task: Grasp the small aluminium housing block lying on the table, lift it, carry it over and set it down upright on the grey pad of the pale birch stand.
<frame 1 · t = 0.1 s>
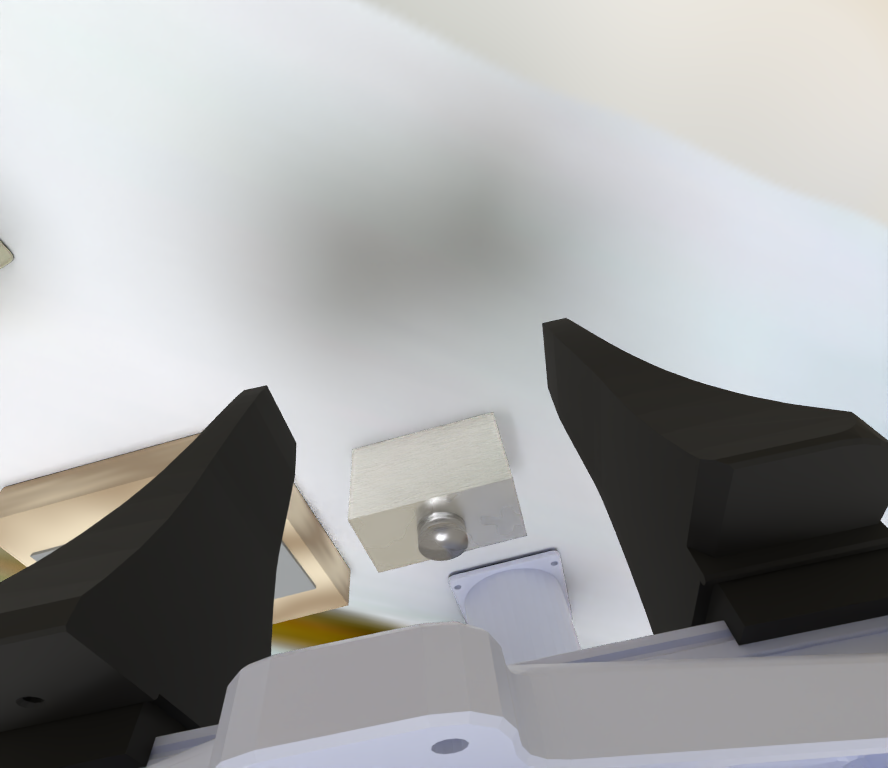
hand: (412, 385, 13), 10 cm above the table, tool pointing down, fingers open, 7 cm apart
stand: (198, 534, 30), on the table
housing: (432, 457, 28), on the table
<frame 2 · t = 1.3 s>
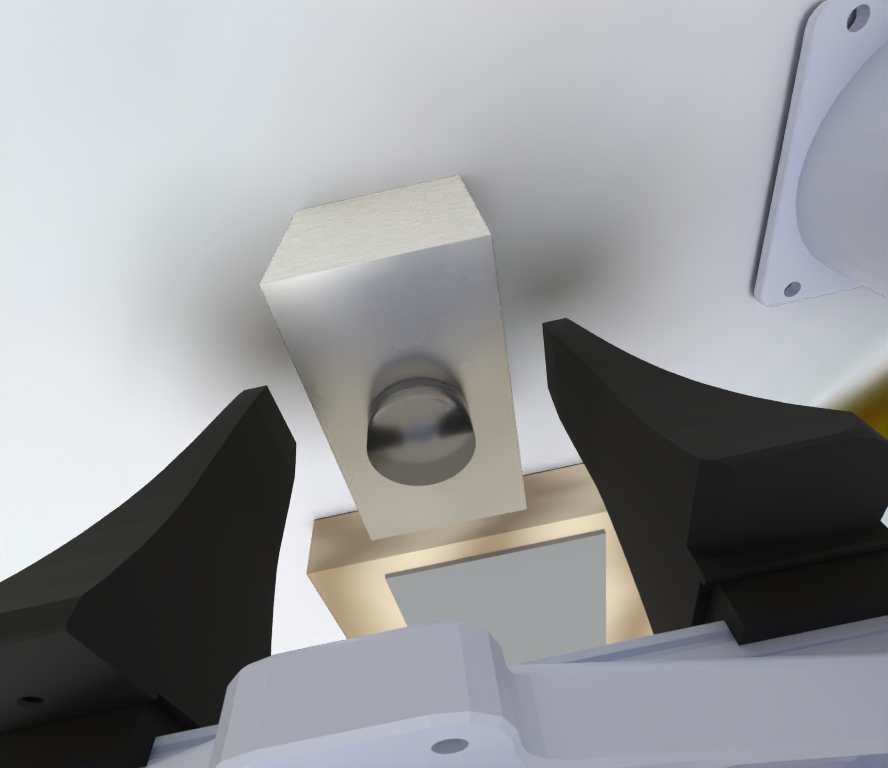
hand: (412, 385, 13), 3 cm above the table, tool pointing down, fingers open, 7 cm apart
stand: (500, 580, 24), on the table
housing: (410, 319, 16), on the table
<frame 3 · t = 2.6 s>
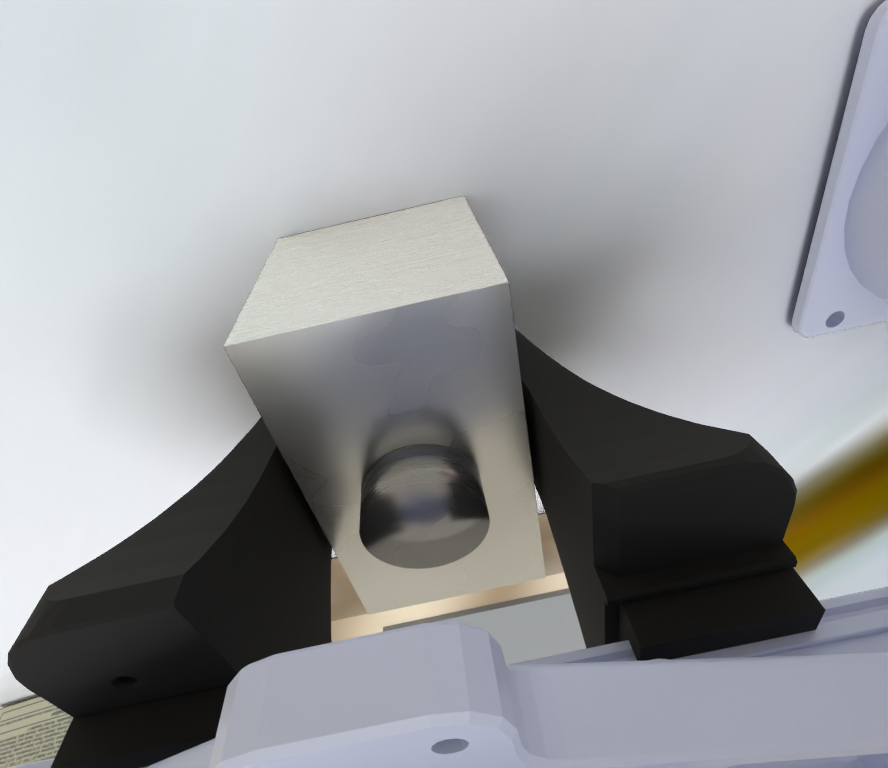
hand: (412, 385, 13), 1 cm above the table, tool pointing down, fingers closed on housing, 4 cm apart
skincare box: (93, 702, 23), on the table
stand: (507, 620, 23), on the table
housing: (409, 356, 14), on the table, touching gripper
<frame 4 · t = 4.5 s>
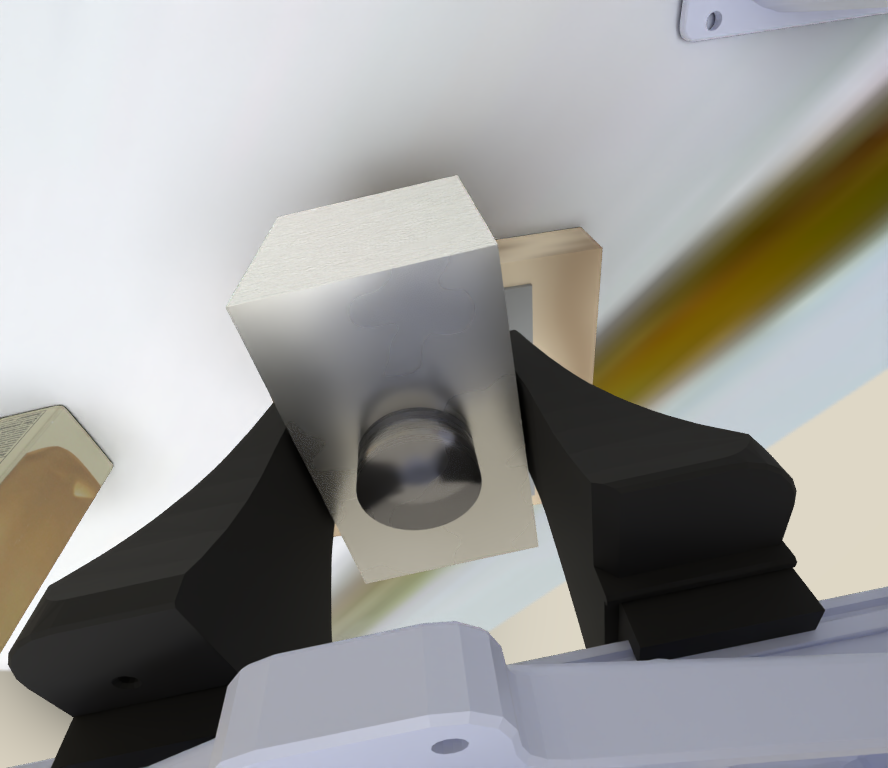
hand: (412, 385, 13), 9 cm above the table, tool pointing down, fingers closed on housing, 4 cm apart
skincare box: (38, 445, 24), on the table
stand: (436, 386, 25), on the table
housing: (405, 335, 14), point 7 cm above the table, touching gripper
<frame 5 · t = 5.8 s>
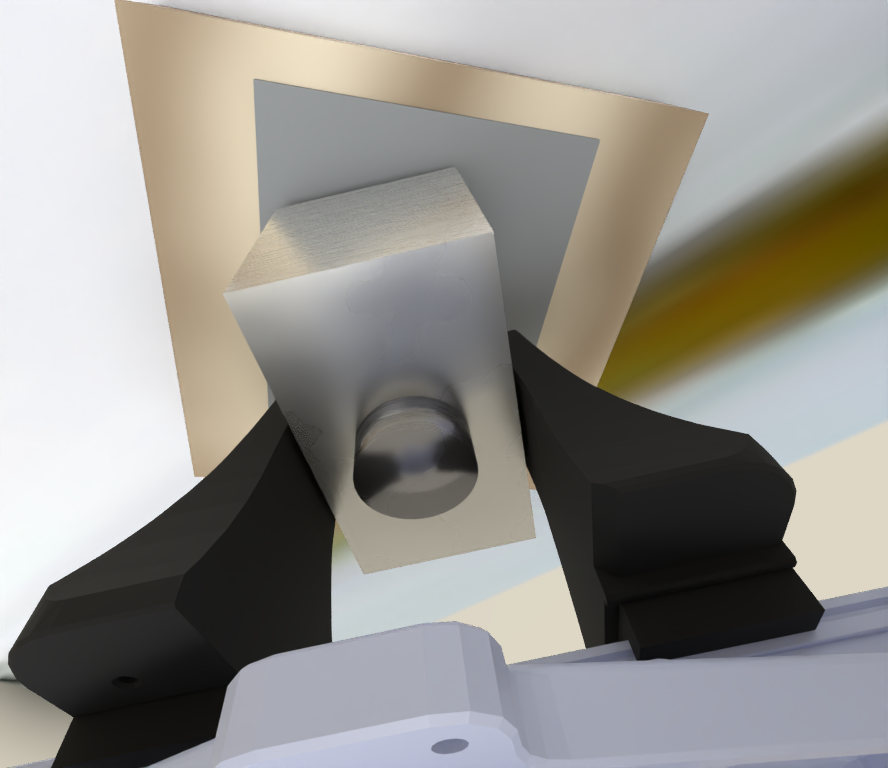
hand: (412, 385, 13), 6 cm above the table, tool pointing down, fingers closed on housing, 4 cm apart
stand: (404, 292, 17), on the table
housing: (404, 328, 14), point 3 cm above the table, touching gripper
when the fingers open (5 cm above the table, at t = 6.7 s): housing stays where it is, resting on stand.
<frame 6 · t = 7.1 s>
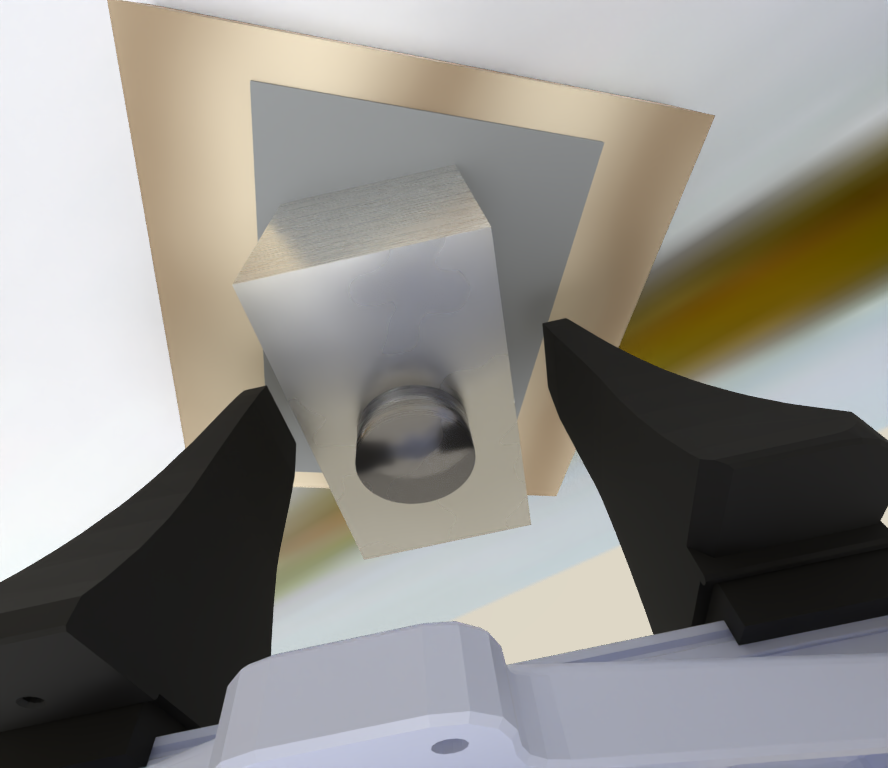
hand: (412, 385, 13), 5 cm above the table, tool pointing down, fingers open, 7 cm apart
stand: (404, 296, 17), on the table
housing: (404, 321, 15), point 3 cm above the table, touching stand
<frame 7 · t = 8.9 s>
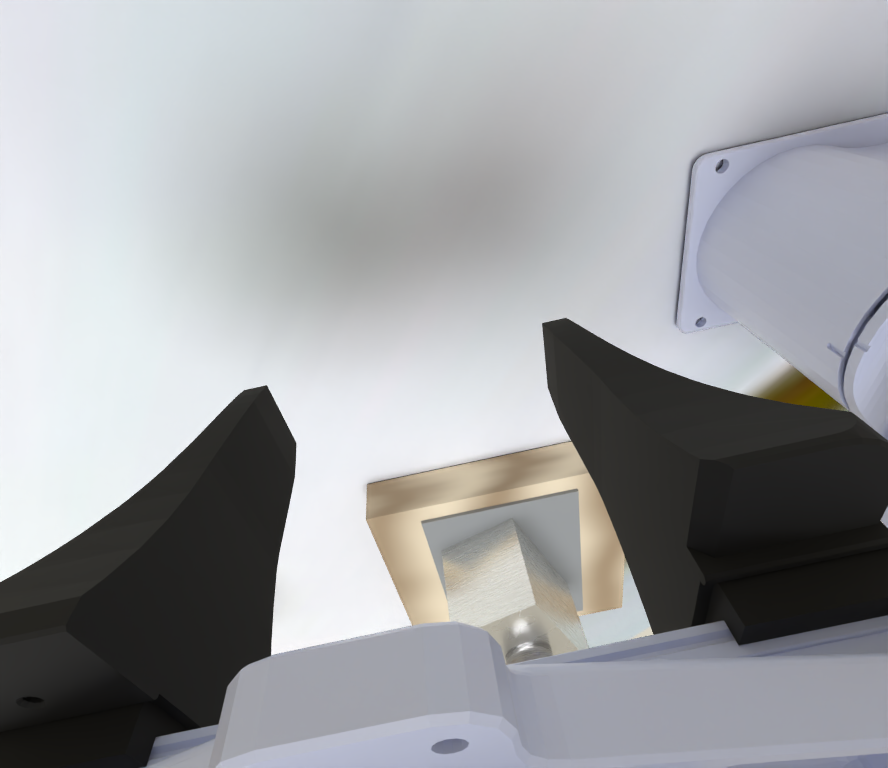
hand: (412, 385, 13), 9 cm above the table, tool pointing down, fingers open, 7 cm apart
stand: (502, 535, 32), on the table
housing: (508, 568, 29), point 3 cm above the table, touching stand
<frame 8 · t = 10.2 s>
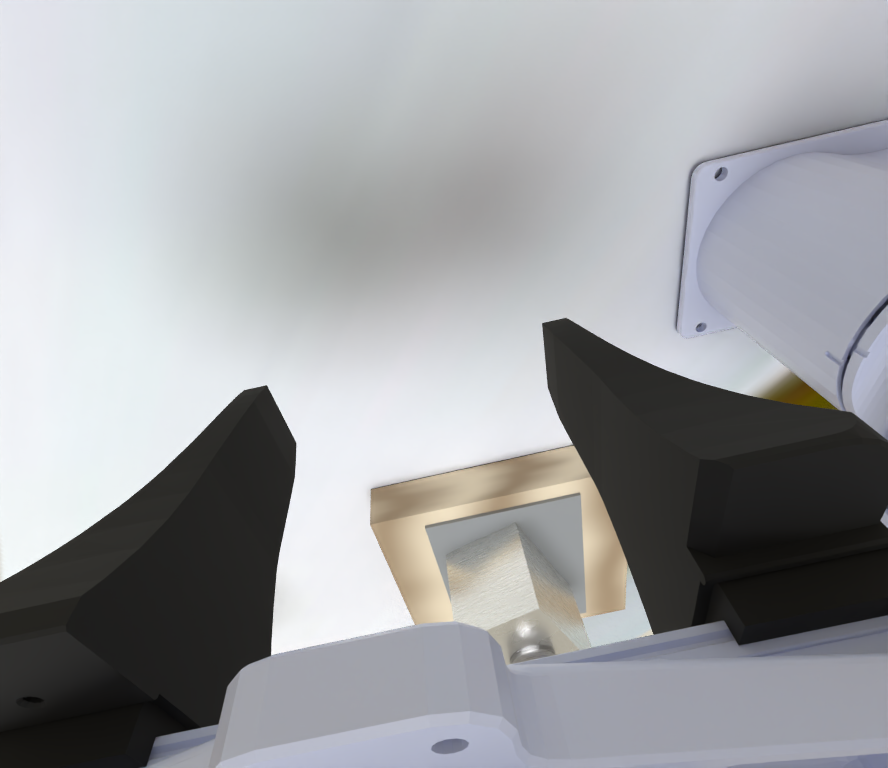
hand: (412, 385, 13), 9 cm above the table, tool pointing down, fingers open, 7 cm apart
stand: (505, 538, 32), on the table
housing: (511, 571, 30), point 3 cm above the table, touching stand
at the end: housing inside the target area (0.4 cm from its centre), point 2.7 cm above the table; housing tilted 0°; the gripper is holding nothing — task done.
